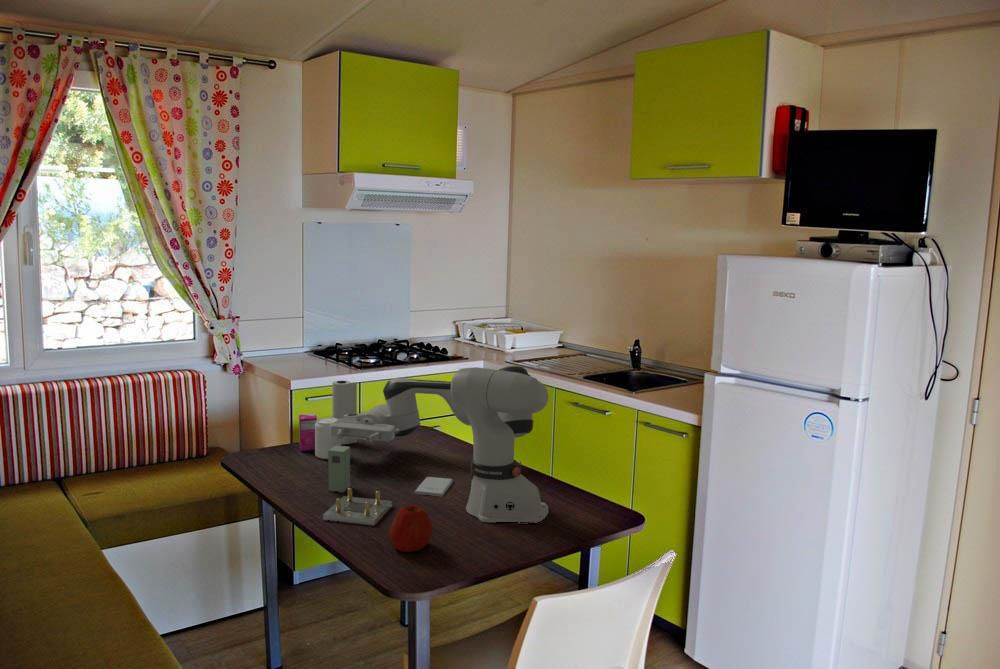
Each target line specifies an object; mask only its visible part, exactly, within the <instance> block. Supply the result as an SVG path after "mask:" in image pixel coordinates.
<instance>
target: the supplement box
mask: <svg viewBox="0 0 1000 669" xmlns="http://www.w3.org/2000/svg"><path fill="white" fill-rule="evenodd" d="M317 420H318V417H317V414H316V413H308V414H307V413H305V414H299V415H298V426H299V427H298V429H299V430H298V432H299V433H298V434H299V448H300V453H308V452H309V453H311V452H310V451H312V452H315V424H316V422H317Z"/></svg>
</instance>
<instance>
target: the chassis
mask: <svg viewBox="0 0 1000 669" xmlns="http://www.w3.org/2000/svg"><path fill="white" fill-rule="evenodd" d="M392 507H393V501H392V500H386V499H381V491H380V490H375V498H366V497H359V496H358V497H357V496H356V497H355V496H353V488H352V487H349V488H348V489H347V495H343V496H342V497H337V498H335V503H334V504H333V505H332V506H331V507H330V508H329V509H328V510H326V511H325V512H324V513H323V514H322V518H323V519H322V520H323V521H328V520H329V521H330V522H337V521H339V523H348V524H353V525H354V524H357V525H363V526H365V525H366V526H376V524H378V522H379V521H380V520H381V519H382V518H383V517H384V515H386V513H387V512H388V511H389V510H390V509H391V508H392ZM329 521H328V522H329Z"/></svg>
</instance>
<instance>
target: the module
mask: <svg viewBox="0 0 1000 669" xmlns="http://www.w3.org/2000/svg"><path fill="white" fill-rule="evenodd" d="M327 460H328V466H327V467H328V491H329V492H335V491H338V492H337V493H345V491H347V490H348V488H351V476H350V475H351V446H345V445H341V446H336V445H335V446H334V447H333V448H331V449H330V450H328V459H327ZM346 489H347V490H346Z"/></svg>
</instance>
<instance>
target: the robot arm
mask: <svg viewBox="0 0 1000 669" xmlns="http://www.w3.org/2000/svg"><path fill="white" fill-rule="evenodd" d="M382 389H383V390H382V392H383V393H382V394H383V396H384V400H385V403H383V404H378V405H376V406H373V407H372V408H371V409H369V410H367V411H365V412H361V413H360V412H359V413H357V414H346V415H344V418H341V419H338V420H337V421H335V422H334V423H332V424H331V426H330V435H331V436H334V437H337V439H343V438H354V439H357V440H364V441H366V442H367V443H372V442H374V441H375V442H385V443H389V442H392V441H393V440H394V439H395V437H397V438H398V437H404V436H405V437H406V436H409V435H411V434H413V433H414V432H416V431H417V429H419V427H420V426H421V418H420V413H419V409H418V404H417V403H418V402H417V397H416V394H424V395H425V394H426V395H438V396H440V397H442V398H443V399H444V401H445V402H446V404H447V405H448V406H449V408H450V410H451V411H452V414H453V415H454V416H455V418H456V419H457V420H458V421H459V422H460V423H462V424H463V425H466V426H468V427H469V426H470V427H471V430H472V431H471V432H472V441H473V454H472V455H473V456H472V459H471V463H470V476H471V477H470V479H471V484H470V485H471V486H470V491H469V497H468V500H467V504H466V506H465V510H466V512H467V513H468V514H469V515H471V516H473V517H476V518H477V519H478V520H479V521H481V522H482V523H496V522H518V523H517V524H521V523H520V522H531V523H532V522H534V523H537V522H540V521H542V520H543V519H545V517H546V516H547V514H548V515H549V507H548V504H546V503H545V502H542V501H541V499H542V498H541V496H540V495H541V494H540V490H539V488H538V486H536V485H535V484H534V483H533V482H532V481H530V480H529V479H527V477H526V476H524V475H523V474H522V461H519V462H518V461H517V460H516V459H515V439H517V438H521V437H525V436H526V435H528V434H530V433H531V432H532V431H533V428H534V420H533V414H535V413H539V412H541V411H542V410H543V409H544V408H546V406H547V405H548V402H549V391H548V389H547V387H546V386H545V384H543V383H542V382H541V381H540V380H538V379H537V378H536V377H533V376H531V374H529V372H528V370H527V369H526V368H524V367H523V366H519V365H515V364H509V365H507V366H504V367H502V368H499V369H494V368H493V369H492V368H486V367H474V366H473V367H464V368H460V369H458V370H457V371H456V372H455V373H454V374H453V376H452V379H451V381H446V380H433V379H432V380H428V379H414V378H406V377H396V378H391V379H389V380H388V381H387V382H386V384H385V385H384V387H383V388H382ZM547 517H548V516H547ZM547 517H546V518H547ZM545 520H546V519H545ZM542 522H543V521H542ZM540 523H541V522H540ZM537 524H538V523H537Z"/></svg>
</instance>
